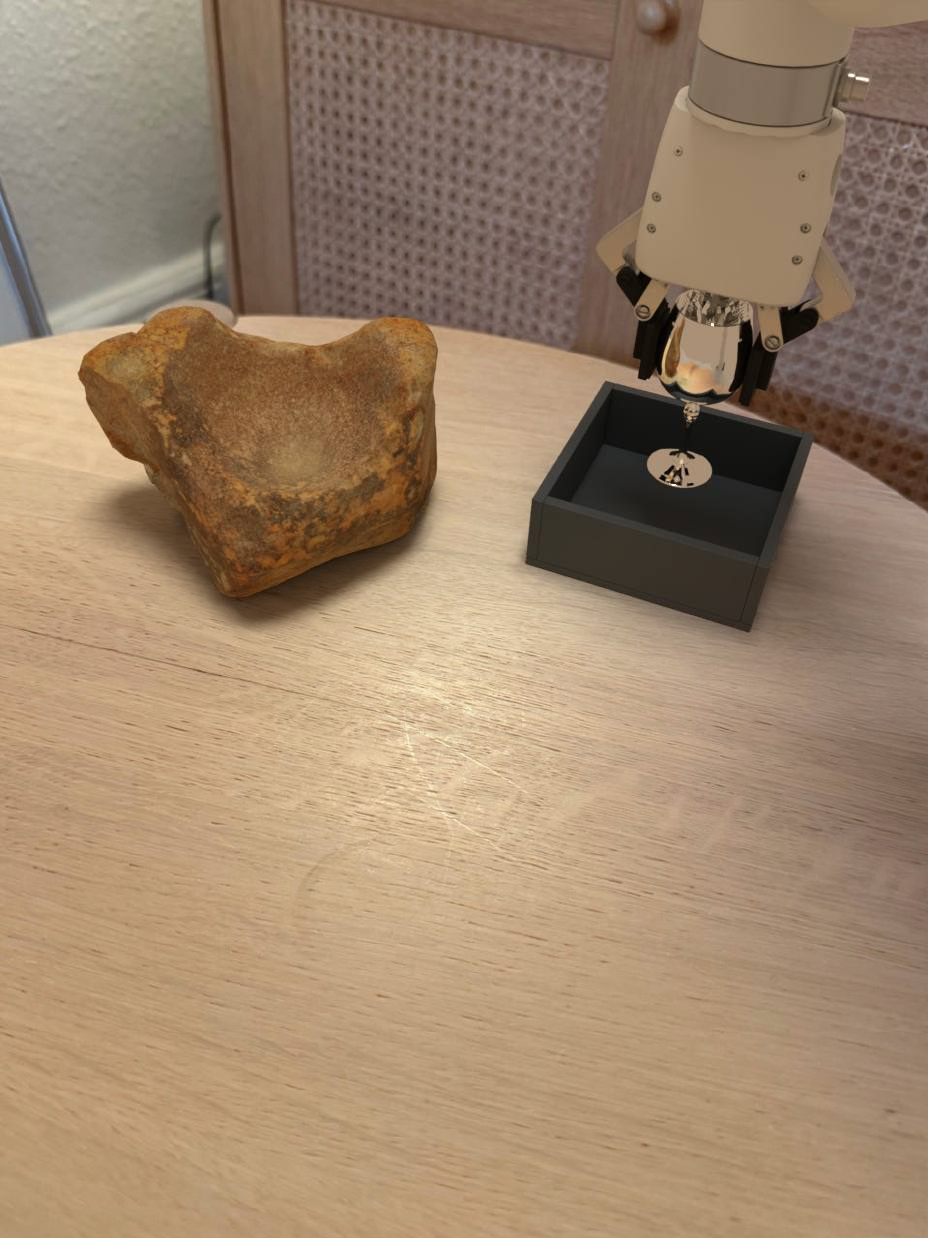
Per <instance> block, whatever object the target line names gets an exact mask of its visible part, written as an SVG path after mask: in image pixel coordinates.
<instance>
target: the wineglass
mask: <svg viewBox="0 0 928 1238" xmlns="http://www.w3.org/2000/svg"><path fill="white" fill-rule="evenodd" d="M754 337H755V331H754V309H753V306H752V305H751V304H750V302H746V301H742V300H738V299H733V298H729V297H724V296H720V295H715V294H711V293H707V292H702V291H698V290H694V289H689V290H686V291H684V292H682V293H680V294H679V295H678V297H676V299H675V302H674V303H673V306H672V308H671V309H670V314H669V316H668V318H667V320H666V323H665V325H664V328H663V331H662V334H661V337H660V340H659V344H658V349H657V356H656V369H655V370H656V375H657V378H658V380H659V382H660V384H661V386H662V387H663V389H664V390H665V391H666V392H667V393H668V394H669V395H670V396H671V397H672V398H675V399H678V400H680V401H682V402H685V403H687V404H686V406H685V409H684V416H683V417H684V432H683V437H682V442H681V445H680V448H679V447H669V448H663V449H659V450H657V451H655V452H653V453H652V454H651V455H650V456H649V458H648V460H647V469H648V471H649V473H650V474H651V475H652V476H653V477H654V478H655V479H656V480H658V481H659V482H661V483H663V484H666V485H668V486H672V487H677V488H694V487H698V486H701V485H703V484H705V483H706V482H707V481H709V479H710V478H711V476H712V466H711V464H710V463H709V461H708V460H707V459H706V458H705V457H704V456H702V455H701V454H699V453H697V452H695V451H692V450H689V449H687V447H688V442H689V437H690V433H691V429H692V427H693V425H694V422H695V421H696V419H697V417H698V415H699V412H700V406H699V405H703V406H711V405H717V404H720V403H722V402H725V401H726V400H728V399H730V398H731V397H733V396H734V395H735V394H736V393H737V391H739V390H740V389H741V388H742V384H743V380H744V376H745V372H746V368H747V364H748V360H749V357H750V353H751V350H752V347H753V345H754Z"/></svg>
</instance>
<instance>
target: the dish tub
mask: <svg viewBox="0 0 928 1238" xmlns="http://www.w3.org/2000/svg"><path fill="white" fill-rule="evenodd" d="M686 404H687V403H685V402H682V401H680V400H678V399H676V398H675V397H672V396H671V397H670V396H668V395H663V394H659V393H655V392H651V391H648V390H645V389H641V388H636V387H633V386H628V385H624V384H620V383H616V382H612V381H609V380H605V381H604V382H603V383H602V385H601V387H600V389H598V391H597V392H596V394H595V396H594V398H593V400H592V401H591V403H590V405H589V407H588V408H587V409H586V411H585V413H584V414H583V416H582V417H581V419H580V420H579V422H578V424H577V426H576V427H575V429H574V430H573V432H572V433H571V436H569V439H568V440H567V442H566V443H565V444H564V446H563V448H562V450H561V452H560V453H559V454H558V456H557V458H556V459H555V461H554V463H553V464H552V466H551V468H550V469H549V471H548V472H547V473H546V476H545V478H543V480H542V482H541V484H540V485H539V487H538V489H537V490H536V492H535V493H534V495H533V497H532V498H531V503H530V515H529V524H528V534H527V544H526V553H525V554H526V555H525V564H528V565H530V566H534V567H537V568H540V569H543V570H547V571H551V572H553V573H557V574H560V575H563V576H566V577H569V578H572V579H576V580H580V581H581V582H582V581H583V582H586V583H589V584H592V585H595V586H599V587H602V588H605V589H608V590H612V591H614V592H619V593H621V594H625V595H628V596H631V597H634V598H638V599H641V600H644V601H647V602H651V603H655V604H657V605H661V606H663V607H667V608H670V609H673V610H676V611H680V612H683V613H686V614H689V615H692V616H696V617H699V618H703V619H705V620H709V621H712V622H715V623H718V624H722V625H726V626H728V627H731V628H735V629H738V630H742V631H745V632H748V633H750V632H751V630H752V626H753V624H754V621H755V618H756V614H757V613H758V609H759V606H760V604H761V603H760V602H761V600H762V596H763V593H764V590H765V588H766V585H767V583H768V582H767V581H768V579H769V577H770V573H771V570H772V567H773V564H774V561H775V559H776V555H777V552H778V549H779V546H780V543H781V540H782V539H783V538H782V537H783V534H784V532H785V529H786V525H787V522H788V520H789V517H790V514H791V510H792V508H793V504H794V502H795V499H796V496H797V492H798V489H799V486H800V483H801V480H802V477H803V473H804V471H805V468H806V465H807V461H808V458H809V455H810V453H811V448H812V446H813V442H814V440H815V436H816V434H815V433H811V432H808V431H803V430H799V429H796V428H792V427H788V426H784V425H781V424H776V423H773V422H770V421H765V420H762V419H761V420H760V419H756V418H754V417H750V416H746V415H745V416H744V415H741V414H738V413H735V412H730V411H726V410H722V409H718V408H714V407H710V406H707V405H699V406H700V412H699V415H698V417H697V419H696V421H695V422H694V425H693V427H692V429H691V433H690V437H689V442H688V447H687V449H689V450H692V451H695V452H697V453H699V454H701V455H702V456H704V457H705V458H706V459H707V460H708V461H709V463H710V464H711V466H712V476H711V478H710V479H709V481H707V482H706V483H705V484H703V485H701V486H698V487H694V488H677V487H672V486H668V485H666V484H663V483H661V482H659V481H658V480H656V479H655V478H654V477H653V476H652V475H651V474H650V473H649V471H648V469H647V460H648V458H649V456H650V455H651V454H652V453H653V452H655V451H657V450H659V449H663V448H669V447H679V448H680V445H681V442H682V437H683V432H684V417H683V416H684V409H685V406H686Z"/></svg>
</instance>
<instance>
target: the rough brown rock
mask: <svg viewBox="0 0 928 1238" xmlns="http://www.w3.org/2000/svg"><path fill="white" fill-rule="evenodd" d="M438 353H439V348H438V343H437V341H436V339H435V335H434V333H433V331H432V330H431V328H430V327H429V326H428V325H427V324H425V322H423V321H421V320H419V319H415V318H409V317H408V318H407V317H402V316H384V317H383V316H382V317H379V318H376V319H374V320H372V321H369V322H367V323H365V324H363V325H362V326H361V327H360V328H359V329H357V330H356V331H354V332H351V333H349V334H347V335H346V336H343V337H341V338H339V339H336V340H332V341H331V342H327V343H324V344H319V345H310V344H309V345H308V344H305V343H299V342H292V341H291V342H290V341H277V340H273V339H270V338H267V337H264V336H262V335H255V334H249V333H245V332H241V331H237V330H234V329H233V328H231V327H229V326H228V325H227V323H224V322H223V321H222V320H221V319H219V318H217V317H216V316H215V315H214V314H213V313H212V312H211V311H210V310H208V309H205V308H203V307H200V306H191V305H183V306H178V307H171V308H167V309H164V310H161V311H159V312H158V313H156V314H155V315H154V316H152V317H151V318H150V319H149V320H148V321H147V322H146V323H144V325H142V327H141V328H140V329H139V330H138V331H137V332H133V331H129V332H125V333H121V334H118V335H115V336H112V337H109V338H107V339H105V340H102V341H101V342H99V343H98V344H97V345H95V346H94V347H93V348H91V349H90V350H88V352H86V353H85V354H83V358H82V359H81V363H80V366H79V370H78V371H77V377H78V380H79V381H80V383H81V384H82V386H83V387H84V393H85V401H86V403H87V405H88V407H89V410H90V411H91V413H92V415H93V416H94V418H95V419H96V421H97V423H98V425H99V426H100V428H101V430H102V432H103V433H104V435H105V437H106V438H107V440H108V441H109V444H110V446H111V448H112V449H114V450H115V451H117V452H118V454H120V455H121V456H123V457H124V458H125V459H128V460H130V461H134V462H138V463H140V464H142V465H143V467H144V470H145V473H146V475H147V478H148V480H149V481H150V483H151V484H152V485H154V486H155V487H156V489H158V491H159V492H160V493H161V494H162V496H163V497H164V498H165V500H166V501H167V503H168V504H169V505H170V506H171V507H172V508H173V509H175V510H177V511H178V512H180V513H181V514H182V516H183V518H184V522H185V524H186V528H187V532H188V534H189V537H190V539H191V541H192V542H193V545H194V548H196V549H197V551H198V552H199V554H200V556H201V558H202V560H203V562H204V564H205V566H206V569H207V571H208V573H209V576H210V577H211V580H212V582H213V583H214V585H215V587H216V588H217V590H218V591H219V592H220V593H221V594H222V595H225V596H228V597H230V598H242V597H244V598H245V597H250V596H253V595H254V594H257V593H259V592H262V591H264V590H267V589H270V588H273V587H276V586H278V585H280V584H282V583H284V582H286V581H288V580H289V579H292V578H294V577H297V576H299V575H301V574H303V573H305V572H306V571H309V570H310V569H313V568H314V567H317V566H319V565H322V564H324V563H327V562H329V561H331V560H332V559H335V558H339V557H342V556H343V557H344V556H345V555H348V554H351V553H354V552H357V551H361V550H366V549H370V548H374V547H378V546H381V545H384V544H387V543H391V542H392V541H395V540H398V539H399V538H401V537H402V536H404V535H406V534H408V533H409V532H410V531H411V529H412V527H413V526H414V524H415V521H416V519H417V517H418V515H419V514H420V513H421V511H422V509H423V508H424V507H425V506H426V504H427V502H428V499H429V496H430V493H431V490H432V488H433V487H434V486H433V485H434V483H435V480H436V477H437V472H438V440H437V439H438V438H437V426H436V425H437V424H436V400H435V399H436V398H435V394H434V386H435V375H436V371H437V360H438Z"/></svg>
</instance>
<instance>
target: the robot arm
mask: <svg viewBox="0 0 928 1238" xmlns="http://www.w3.org/2000/svg"><path fill="white" fill-rule="evenodd" d="M923 21H928V0H703V2H702V8H701V14H700V20H699V25H698V26H699V28H698V31H697V38H696V44H695V48H694V49H695V50H694V55H693V61H692V66H691V72H690V79H689V84H688V85H686V86H683V87H682V88H680V89H679V91H678V93H677V94H676V96H675V98H674V101H673V104H672V106H671V108H670V110H669V114H668V117H667V119H666V122H665V125H664V128H663V132H662V134H661V137H660V138H661V139H660V141H659V144H658V148H657V151H656V154H655V158H654V162H653V166H652V170H651V174H650V178H649V182H648V186H647V190H646V194H645V199H644V202H643V206H641V207H640V208H639V209H637V210H635V212H633V213H632V214H630V215H629V216H628V217H627V218H625V219H624V220H623V221H621V222H620V223H618V224H617V225H615V226H614V227H613V228H611V229H610V230H608V232H607V231H606V233H605V234H604V235H602V237H601V238H600V240H599V241H598V242H597V243H596V244H595V248H594V249H595V250H594V251H595V253H596V255H597V256H598V257H599V259H600V260H601V261H602V263H603V264H604V266H605V267H606V268H607V270H608V271H609V272H610V274H613V275H614V277H615V282H616V284H617V285H618V287H619V289H620V290H621V291H622V292H623V294H624V295H625V297H626V298H627V300H628V301H629V302H630V305H632V306H633V315H634V317H635V319H637V328H636V334H635V341H634V345H633V351H632V358H633V359H636V360H640V361H639V367H638V372H637V379H638V380H641V381H646V382H647V380H650V379H651V378H652V375H653V374H654V372H655V370H657V369H656V356H657V349H658V344H659V340H660V337H661V334H662V331H663V328H664V325H665V323H666V320H667V318H668V316H669V314H670V312H671V307H669V304H670V302H668V300H667V298H666V296H667V294H668V292H669V291H670V289H671V288H672V287H673V286H678V287H682V288H685V289H689V290H693V289H694V290H698V291H702V292H707V293H711V294H715V295H720V296H724V297H729V298H733V299H738V300H742V301H746V302H749V303H751V304H755V305H756V312H757V317H758V324H759V332H758V334H757V336H756V338H755V341H754V342H753V347H752V350H751V353H750V357H749V360H748V364H747V368H746V372H745V376H744V380H743V384H742V385H741V387H740V393H739V397H738V401H737V403H740V406H742V407H743V406H744V407H747V408H749V407H750V405H751V403H752V401H753V399H754V396H755V394H756V392H757V390H760V391H764V392H767V390H768V388H769V385H770V382H771V380H772V377H773V373H774V369H775V365H776V361H777V358H778V353H779V351H780V350H781V349H782V348H783V346H784V345H785V344H788V343H789V342H792V341H793V340H796V339H797V338H799V337H801V336H803V335H805V334H807V333H809V332H811V331H813V330H815V328H816V327H817V326H818V325H820V324H822V323H826V322H828V321H830V320H833V319H834V318H836V317H839V316H840V315H842V314H844V313H846V312H848V311H850V310H851V309H852V307H853V306H854V302H855V299H856V296H857V293H856V292H857V291H856V290H855V288H854V286H853V284H852V283H851V281H850V279H849V277H848V276H847V274H846V272H845V271H844V269H843V267H842V266H841V264H840V262H839V261H838V259H837V257H836V255H835V253H834V251H832V249H831V247H830V245H829V244H828V241H827V240H826V236H827V232H828V228H829V224H830V220H831V216H832V211H833V207H834V203H835V198H836V194H837V189H838V184H839V178H840V174H841V169H842V168H841V167H842V164H843V163H842V162H843V154H844V148H845V147H844V146H845V139H846V138H845V137H846V124H847V123H846V120H847V119H846V115H845V113H844V112H843V111H841V110H840V109H839V108H840V105H841V103H844V104H849V103H850V102H852V103H859V104H865V103H866V99H867V96H868V93H869V89H870V86H871V83H872V79H873V74H872V73H866V72H859V68H855V67H852V65H853V61H850V60H849V56H850V53H851V44H852V41H853V37H854V33H855V29H856V28H860V29H861V28H863V29H864V28H865V29H866V28H867V29H876V28H885V27H894V26H900V25H905V24H911V23H917V22H923ZM633 243H635V251H634V257H633V253H632V252H631V251H630V249H629V246H631V245H632V244H633ZM812 278H813V280H814V281H815V283H816V285H817V287H818V288H819V290H820V292H821V294H819V295H817V296H816V297H815V298H812V299H811V298H810V299H807V300H804V301H803V302H801V303H799V302H800V301H802V299H803V298H804V295H805V293H806V290H807V288H808V286H809V284H810V281H811V279H812ZM797 304H798V305H797ZM791 306H794V307H791Z"/></svg>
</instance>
